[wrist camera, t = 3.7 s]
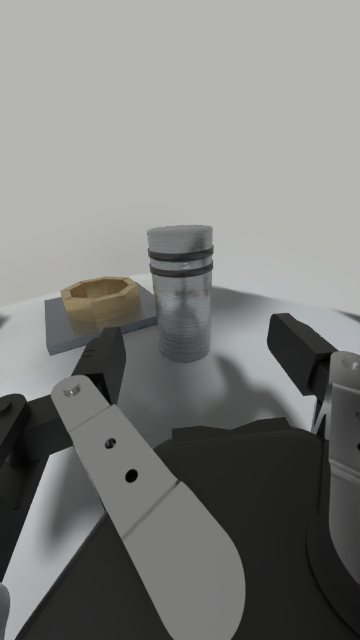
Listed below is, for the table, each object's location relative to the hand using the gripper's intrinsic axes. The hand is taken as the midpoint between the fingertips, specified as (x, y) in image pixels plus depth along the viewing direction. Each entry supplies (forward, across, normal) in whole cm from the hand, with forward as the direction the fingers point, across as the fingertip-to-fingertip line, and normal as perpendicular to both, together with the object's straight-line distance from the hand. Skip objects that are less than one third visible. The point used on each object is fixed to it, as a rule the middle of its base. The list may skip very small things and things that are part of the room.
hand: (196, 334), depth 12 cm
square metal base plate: (+18, +10, +6) cm, 22 cm away
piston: (+8, 0, +6) cm, 11 cm away
